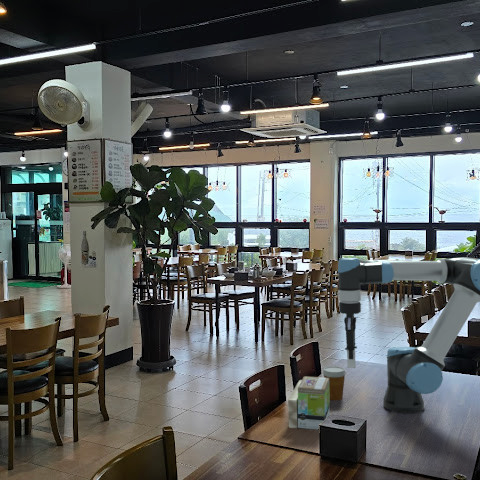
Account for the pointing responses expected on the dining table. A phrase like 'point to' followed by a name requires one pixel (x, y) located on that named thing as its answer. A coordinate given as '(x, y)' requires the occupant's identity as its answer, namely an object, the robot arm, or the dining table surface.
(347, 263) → the robot arm
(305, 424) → the tea box
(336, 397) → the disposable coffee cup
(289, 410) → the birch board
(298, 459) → the dining table surface
